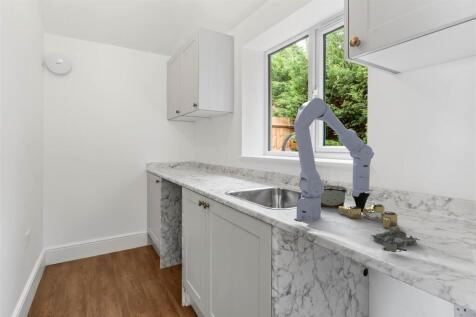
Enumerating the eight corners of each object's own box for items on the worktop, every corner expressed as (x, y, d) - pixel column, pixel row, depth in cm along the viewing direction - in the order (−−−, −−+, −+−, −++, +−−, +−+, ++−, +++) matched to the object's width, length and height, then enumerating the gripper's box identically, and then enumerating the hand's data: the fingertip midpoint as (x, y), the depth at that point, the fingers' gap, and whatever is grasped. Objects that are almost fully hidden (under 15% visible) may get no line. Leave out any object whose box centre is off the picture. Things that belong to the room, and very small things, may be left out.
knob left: (363, 218, 91) (363, 207, 91) (355, 220, 89) (355, 209, 89) (343, 212, 99) (343, 203, 98) (336, 214, 96) (336, 204, 96)
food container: (344, 208, 110) (345, 185, 110) (346, 212, 104) (347, 188, 104) (315, 206, 114) (315, 184, 113) (315, 209, 108) (316, 186, 107)
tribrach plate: (408, 239, 74) (408, 226, 74) (327, 222, 90) (327, 212, 89) (417, 220, 92) (417, 210, 92) (349, 209, 108) (349, 201, 108)
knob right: (383, 221, 88) (383, 210, 88) (398, 223, 85) (398, 212, 85) (377, 227, 81) (378, 215, 81) (393, 230, 79) (394, 217, 78)
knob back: (377, 212, 99) (377, 203, 98) (386, 215, 94) (387, 205, 94) (360, 214, 96) (360, 204, 96) (369, 217, 92) (369, 207, 92)
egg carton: (399, 240, 74) (399, 226, 74) (422, 250, 67) (423, 235, 67) (367, 243, 72) (368, 229, 72) (388, 254, 65) (389, 238, 64)
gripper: (367, 179, 87) (366, 218, 88) (377, 175, 98) (376, 209, 99) (346, 178, 91) (345, 214, 92) (357, 174, 102) (356, 206, 103)
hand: (360, 212), depth 96 cm, fingers closed, pressing on knob back
